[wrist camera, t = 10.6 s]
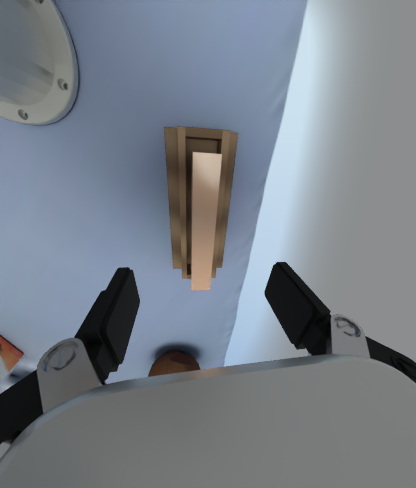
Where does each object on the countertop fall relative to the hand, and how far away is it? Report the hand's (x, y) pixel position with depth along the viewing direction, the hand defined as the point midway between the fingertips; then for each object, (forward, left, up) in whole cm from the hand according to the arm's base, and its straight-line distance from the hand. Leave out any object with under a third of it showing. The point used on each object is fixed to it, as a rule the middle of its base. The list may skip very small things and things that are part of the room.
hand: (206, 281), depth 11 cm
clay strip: (0, 0, -15) cm, 15 cm away
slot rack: (0, +1, -16) cm, 16 cm away
